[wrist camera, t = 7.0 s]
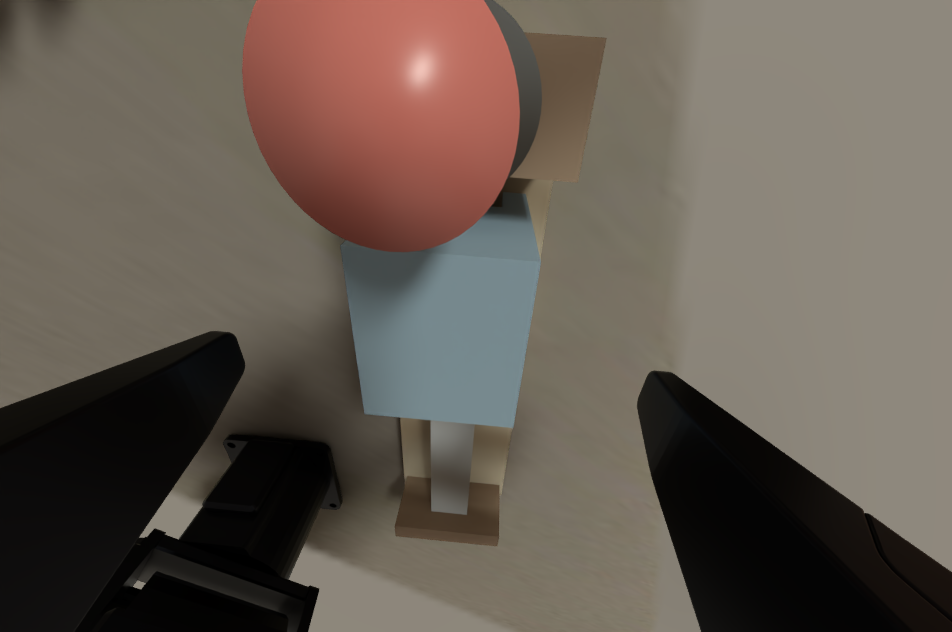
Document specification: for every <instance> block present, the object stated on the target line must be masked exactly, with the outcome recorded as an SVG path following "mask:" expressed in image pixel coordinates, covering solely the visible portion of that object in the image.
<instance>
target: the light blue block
mask: <svg viewBox="0 0 952 632" xmlns="http://www.w3.org/2000/svg"><path fill="white" fill-rule="evenodd" d="M340 247H341V254H342V261H343V268H344V275H345V282H346V289H347V296H348V303H349V310H350V317H351V324H352V330H353V337H354V344H355V351H356V358H357V365H358V372H359V379H360V386H361V393H362V400H363V407H364V414H369V415H380V416H391V417H401V418H412V419H423V420H433V421H444V422H455V423H466V424H476V425H487V426H498V427H508V428H513V426H514V420H515V414H516V408H517V402H518V396H519V390H520V384H521V378H522V372H523V366H524V360H525V354H526V348H527V342H528V336H529V330H530V324H531V318H532V312H533V306H534V300H535V294H536V288H537V282H538V276H539V270H540V264H541V260H540V256H539V251H538V247H537V242H536V237H535V233H534V228H533V224H532V219H531V215H530V210H529V206H528V201H527V197H526V194H522V193H509V192H503V197H502V207H492V206H491V207H490V208H489V209H488V210H487V212H486V213H485V214H484V215H483V216H482V217H481V218H480V219H479V220H478V221H477V222H476V223H475V224H474V225H473V226H472V227H470V228H469V229H468V230H466V231H465V232H464V233H462V234H461V235H459V236H458V237H456V238H454V239H452V240H450V241H448V242H446V243H444V244H441V245H439V246H436V247H433V248H429V249H425V250H421V251H412V252H388V251H381V250H375V249H371V248H367V247H364V246H360V245H358V244H355V243H353V242H350V241H348V240H346V241H345V242H343V243H342V244H341V245H340Z"/></svg>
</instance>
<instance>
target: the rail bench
mask: <svg viewBox="0 0 952 632" xmlns="http://www.w3.org/2000/svg"><path fill="white" fill-rule="evenodd" d="M484 1H485V3H486V4H487V6H488V8H489V9H490V11H491V13H492V14H493V16H494V18H495V20H496V21H497V23H498V25H499V27H500V29H501V32H502V34H503V36H504V39H505V41H506V43H507V46H508V49H509V52H510V55H511V59H512V62H513V65H514V69H515V74H516V80H517V85H518V91H519V107H520V119H519V135H518V141H517V147H516V152H515V156H514V159H513V163H512V166H511V169H510V172H509V174H508V177H507V179H506V181H505V184H504V186H503V188H502V190H501V191H500V193H499V195H498V196H497V198H496V200H495V201H494V203H493V204H492V205H491V206H492V207H502V197H503V192H509V193H522V194H526V197H527V201H528V206H529V210H530V215H531V219H532V224H533V228H534V233H535V237H536V242H537V247H538V251H539V256H540V257H541V251H542V245H543V239H544V232H545V226H546V220H547V214H548V208H549V202H550V196H551V190H552V184H553V181H565V182H578V179H579V174H580V169H581V164H582V159H583V154H584V149H585V144H586V139H587V134H588V129H589V124H590V119H591V114H592V109H593V104H594V99H595V94H596V89H597V83H598V78H599V73H600V68H601V63H602V58H603V53H604V48H605V43H606V38H599V37H584V36H569V35H554V34H540V33H525V32H523V30H522V29H521V27H520V26H519V25H518V23H517V22H516V21H515V19H514V18H513V17H512V16H511V15H510V14H509V13H508V12H507V11H506V10H505V9H504V8H503V7H501V6H500V5H499V4H497V3H496V2H495V1H493V0H484ZM400 423H401V437H402V451H403V465H404V479H405V488H404V492H403V496H402V500H401V504H400V508H399V512H398V516H397V520H396V523H395V533H396V536H400V537H410V538H420V539H430V540H440V541H449V542H459V543H469V544H479V545H489V546H497V545H498V539H499V495H501V493H502V487H503V481H504V475H505V469H506V463H507V457H508V451H509V445H510V439H511V433H512V428H508V427H498V426H487V425H476V424H466V423H455V422H444V421H433V420H423V419H412V418H401V417H400Z"/></svg>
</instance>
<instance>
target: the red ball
mask: <svg viewBox="0 0 952 632" xmlns="http://www.w3.org/2000/svg"><path fill="white" fill-rule="evenodd" d="M242 73H243V87H244V96H245V101H246V107H247V112H248V116H249V119H250V123H251V126H252V130H253V133H254V135H255V138H256V140H257V143H258V145H259V148H260V150H261V152H262V154H263V156H264V158H265V160H266V162H267V164H268V166H269V168H270V169H271V171H272V172H273V174H274V175H275V177H276V179H277V180H278V182H279V183H280V185H281V186H282V187H283V188H284V190H285V191H286V192H287V193H288V195H289V196H290V197H291V198H292V200H293V201H294V202H295V203H296V204H297V205H298V206H299V207H300V208H301V209H302V210H303V211H304V212H305V213H307V214H308V215H309V216H310V217H311V218H313V219H314V220H315V221H316V222H317V223H319V224H320V225H322V226H323V227H325V228H326V229H328V230H329V231H331V232H332V233H334V234H336V235H338V236H340V237H342V238H344V239H345V240H348V241H350V242H353V243H355V244H358V245H360V246H364V247H367V248H371V249H375V250H381V251H388V252H412V251H421V250H425V249H429V248H433V247H436V246H439V245H441V244H444V243H446V242H448V241H450V240H452V239H454V238H456V237H458V236H459V235H461V234H462V233H464V232H465V231H466V230H468V229H469V228H470V227H472V226H473V225H474V224H475V223H476V222H477V221H478V220H479V219H480V218H481V217H482V216H483V215H484V214H485V213H486V212H487V210H488V209H489V208H490V207H491V205H492V204H493V203H494V201H495V200H496V198H497V196H498V195H499V193H500V191H501V190H502V188H503V186H504V184H505V181H506V179H507V177H508V174H509V172H510V169H511V166H512V163H513V159H514V156H515V152H516V147H517V141H518V135H519V119H520V107H519V91H518V85H517V80H516V74H515V69H514V65H513V62H512V59H511V55H510V52H509V49H508V46H507V43H506V41H505V39H504V36H503V34H502V32H501V29H500V27H499V25H498V23H497V21H496V20H495V18H494V16H493V14H492V13H491V11H490V9H489V8H488V6H487V4H486V3H485V1H484V0H257V1H256V3H255V5H254V8H253V11H252V14H251V17H250V20H249V23H248V27H247V31H246V37H245V43H244V49H243V69H242Z"/></svg>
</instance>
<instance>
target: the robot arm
mask: <svg viewBox="0 0 952 632" xmlns="http://www.w3.org/2000/svg"><path fill="white" fill-rule="evenodd" d="M244 369H245V361H244V358H243V355H242V352H241V349H240V347H239V344H238V341H237V338H236V337H235V335H234V334H232V333H230V332H221V331H210V332H207V333H205V334H202V335H199V336H196V337H194V338H191V339H188V340H185V341H183V342H180V343H177V344H175V345H172V346H169V347H166V348H164V349H161V350H158V351H155V352H153V353H150V354H147V355H144V356H142V357H139V358H136V359H133V360H131V361H128V362H125V363H123V364H120V365H117V366H114V367H112V368H109V369H106V370H103V371H101V372H98V373H95V374H92V375H90V376H87V377H84V378H82V379H79V380H76V381H73V382H71V383H68V384H65V385H62V386H60V387H57V388H54V389H51V390H49V391H46V392H43V393H41V394H38V395H35V396H32V397H30V398H27V399H24V400H21V401H19V402H16V403H13V404H10V405H8V406H5V407H2V408H0V632H308V630H309V625H310V622H311V619H312V615H313V611H314V607H315V604H316V600H317V596H318V593H319V588H316V587H313V586H309V587H307V586H304V585H301V584H299V583H296V582H293V581H290V580H288V579H289V577H290V575H291V573H292V570H293V568H294V566H295V563H296V561H297V559H298V557H299V555H300V552H301V550H302V548H303V546H304V543H305V541H306V539H307V537H308V534H309V532H310V530H311V528H312V525H313V523H314V521H315V519H316V516H317V514H318V512H319V510H320V508H323V509H332V510H337V509H339V508H340V507H341V504H342V496H341V492H340V488H339V483H338V479H337V475H336V470H335V466H334V462H333V457H332V453H331V449H330V447H329V446H328V445H326V444H324V443H316V442H306V441H295V440H285V439H274V438H264V437H254V436H243V435H229V436H228V437H227V438H226V439H225V440H224V442H223V445H224V447H225V449H226V451H227V453H228V455H229V458H230V460H231V462H232V464H231V465H230V466H229V468H228V469H227V470H226V472H225V473H224V474H223V476H222V477H221V478H220V480H219V481H218V483H217V484H216V485H215V487H214V488H213V489H212V491H211V492H210V493H209V495H208V496H207V497H206V499H205V500H204V502H203V504H202V505H203V507H202V508H201V509H200V511H199V512H198V514H197V515H196V516H195V518H194V519H193V520H192V522H191V523H190V524H189V526H188V527H187V529H186V530H185V531H184V533H183V534H182V535H181V537H180V538H179V540H178V539H175V538H173V537H170V536H167V535H165V533H166V532H163V531H161V530H158V529H154V530H153V531H152V532H151V533H150V534H149V536H148V537H145V538H139V537H140V535H141V534H142V532H143V531H144V529H145V528H146V526H147V525H148V523H149V522H150V520H151V519H152V517H153V516H154V515H155V513H156V512H157V510H158V509H159V507H160V506H161V504H162V503H163V501H164V500H165V498H166V497H167V496H168V494H169V493H170V491H171V490H172V488H173V487H174V485H175V484H176V483H177V481H178V480H179V478H180V477H181V475H182V474H183V472H184V471H185V469H186V468H187V466H188V465H189V464H190V462H191V461H192V459H193V458H194V456H195V455H196V453H197V452H198V450H199V449H200V448H201V446H202V445H203V443H204V442H205V440H206V438H207V437H208V435H209V434H210V432H211V431H212V429H213V427H214V425H215V424H216V422H217V420H218V418H219V416H220V415H221V413H222V411H223V409H224V407H225V406H226V404H227V402H228V400H229V398H230V396H231V395H232V393H233V391H234V389H235V387H236V385H237V384H238V382H239V380H240V378H241V376H242V375H243V372H244ZM637 409H638V414H639V419H640V424H641V429H642V434H643V439H644V444H645V449H646V454H647V459H648V464H649V468H650V472H651V477H652V480H653V483H654V487H655V490H656V493H657V496H658V499H659V502H660V505H661V509H662V512H663V515H664V518H665V521H666V524H667V527H668V530H669V533H670V536H671V540H672V542H673V546H674V549H675V552H676V555H677V558H678V561H679V564H680V567H681V571H682V574H683V577H684V579H685V583H686V586H687V589H688V592H689V595H690V598H691V602H692V605H693V608H694V611H695V614H696V617H697V620H698V623H699V626H700V630H701V632H952V572H951V571H949V570H948V569H946V568H945V567H943V566H942V565H941V564H939V563H938V562H936V561H935V560H934V559H932V558H931V557H929V556H928V555H927V554H925V553H924V552H922V551H921V550H919V549H918V548H917V547H915V546H914V545H912V544H911V543H909V542H908V541H906V540H905V539H903V538H902V537H901V536H899V535H898V534H897V533H895V532H894V531H892V530H891V529H890V528H888V527H887V526H885V525H884V524H883V523H881V522H880V521H878V520H877V519H876V518H874V517H873V516H872V515H870V514H868V513H864V511H863V509H862V508H860V507H859V506H857V505H856V504H855V503H853V502H852V501H851V500H849V499H848V498H846V497H845V496H844V495H842V494H840V493H839V492H838V491H837V490H835V489H834V488H832V487H831V486H830V485H828V484H827V483H825V482H824V481H823V480H821V479H820V478H818V477H817V476H816V475H814V474H813V473H812V472H810V471H809V470H807V469H806V468H805V467H803V466H802V465H800V464H799V463H798V462H796V461H795V460H793V459H792V458H791V457H789V456H788V455H786V454H785V453H783V452H782V451H780V450H779V449H778V448H777V447H775V446H773V445H772V444H771V443H770V442H768V441H767V440H765V439H764V438H763V437H761V436H760V435H758V434H757V433H756V432H754V431H753V430H752V429H750V428H749V427H747V426H746V425H745V424H743V423H742V422H740V421H739V420H738V419H736V418H735V417H733V416H732V415H731V414H729V413H728V412H726V411H725V410H724V409H722V408H721V407H719V406H718V405H716V404H715V403H714V402H712V401H711V400H709V399H708V398H707V397H705V396H704V395H703V394H701V393H700V392H698V391H697V390H696V389H694V388H693V387H692V386H690V385H689V384H687V383H686V382H685V381H683V380H682V379H680V378H679V377H678V376H676V375H675V374H673V373H671V372H664V371H651V372H650V373H649V374H648V376H647V378H646V380H645V383H644V385H643V388H642V390H641V392H640V395H639V397H638V402H637ZM137 580H139V581H141V582H145V583H146V584H145V585H144V587H143V588H142V589H137V588H134V587H133V586H134V584H135V583H136V581H137Z"/></svg>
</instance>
